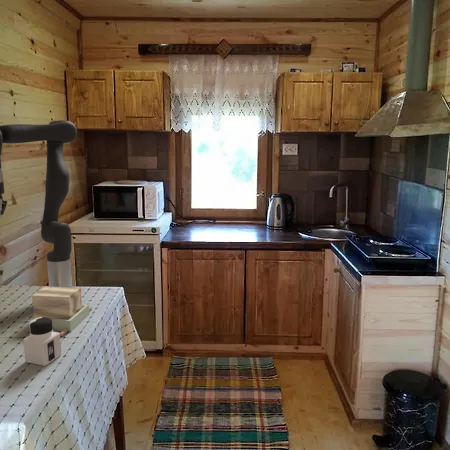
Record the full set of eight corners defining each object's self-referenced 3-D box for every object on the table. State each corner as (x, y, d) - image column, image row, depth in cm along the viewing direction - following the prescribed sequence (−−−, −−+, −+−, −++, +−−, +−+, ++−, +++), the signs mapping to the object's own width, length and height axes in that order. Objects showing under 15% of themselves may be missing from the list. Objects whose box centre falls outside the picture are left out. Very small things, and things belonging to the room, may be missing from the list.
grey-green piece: (77, 309, 181) (76, 299, 181) (94, 310, 180) (93, 300, 180) (46, 335, 157) (45, 325, 156) (65, 337, 156) (64, 326, 155)
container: (62, 355, 143) (59, 316, 141) (45, 366, 136) (41, 326, 134) (42, 351, 146) (39, 313, 143) (24, 362, 139) (21, 322, 136)
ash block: (48, 315, 175) (45, 286, 173) (82, 317, 173) (80, 287, 171) (34, 326, 165) (31, 295, 163) (70, 328, 163) (68, 297, 161)
